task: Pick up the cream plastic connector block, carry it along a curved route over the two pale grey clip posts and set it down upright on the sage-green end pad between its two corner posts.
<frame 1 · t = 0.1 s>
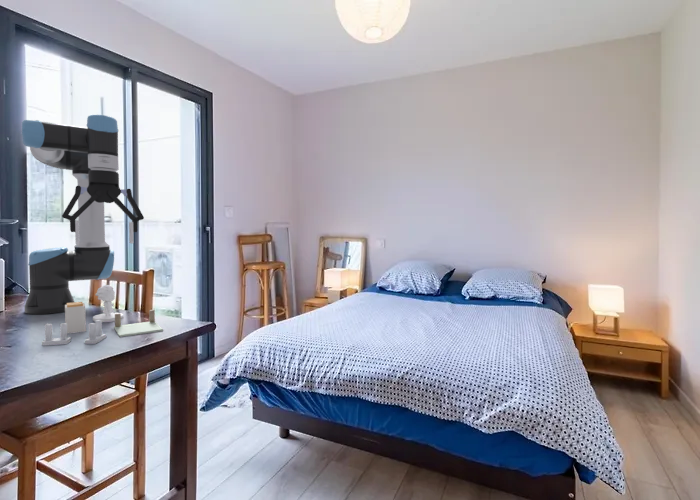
hand: (105, 243, 116), 28 cm above the table, fingers open, 13 cm apart
figurine: (108, 319, 138), on the table
clip b: (95, 340, 113), on the table
holder: (138, 329, 126), on the table
clip a: (56, 343, 110), on the table
connector: (75, 330, 123), on the table
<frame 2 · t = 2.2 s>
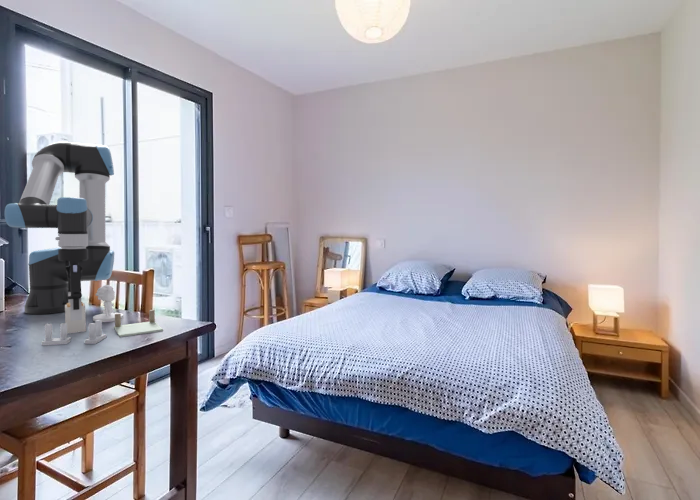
hand: (75, 316, 122), 5 cm above the table, fingers open, 13 cm apart
nothing on the table moved.
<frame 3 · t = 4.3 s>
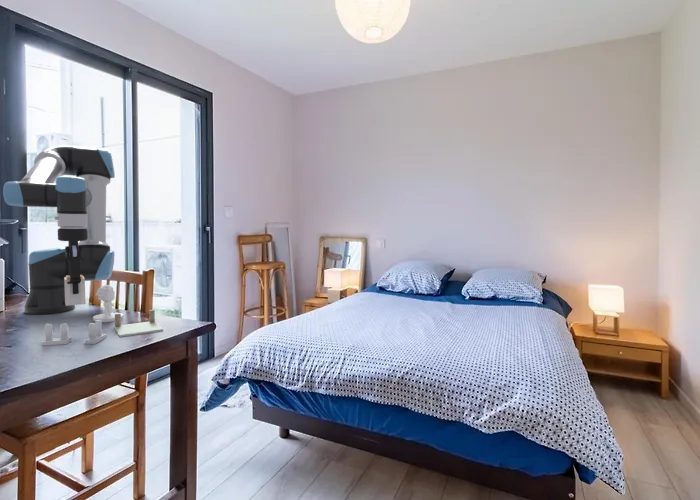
hand: (75, 301, 123), 9 cm above the table, fingers closed on connector, 5 cm apart
connector: (75, 303, 123), point 9 cm above the table, touching gripper
everything else where it was.
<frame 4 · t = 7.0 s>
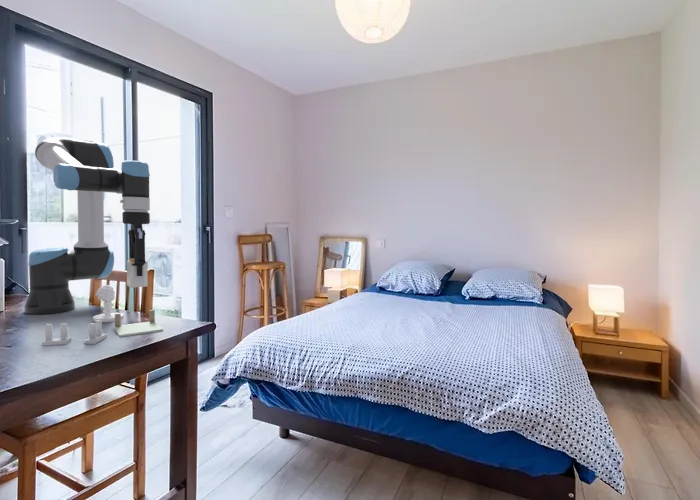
hand: (137, 284, 124), 14 cm above the table, fingers closed on connector, 5 cm apart
connector: (137, 285, 124), point 14 cm above the table, touching gripper
everything else where it was.
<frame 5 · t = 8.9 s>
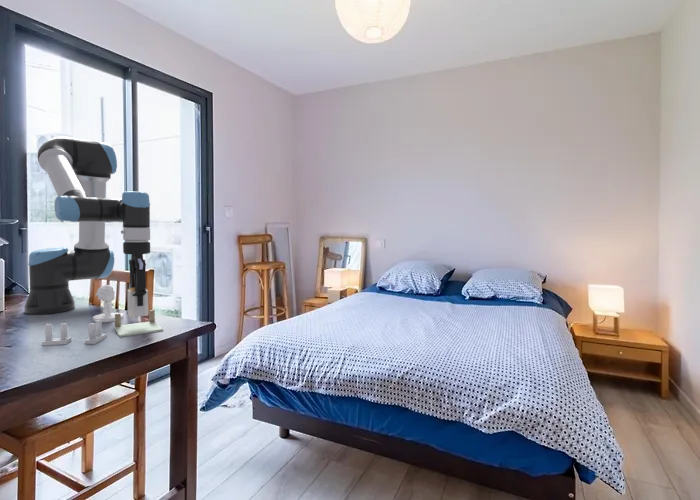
hand: (138, 313, 125), 5 cm above the table, fingers closed on connector, 5 cm apart
connector: (138, 314, 125), point 5 cm above the table, touching gripper
everything else where it was.
when the fingers open (2 cm above the table, at t = 10.1 s): connector stays where it is, resting on holder.
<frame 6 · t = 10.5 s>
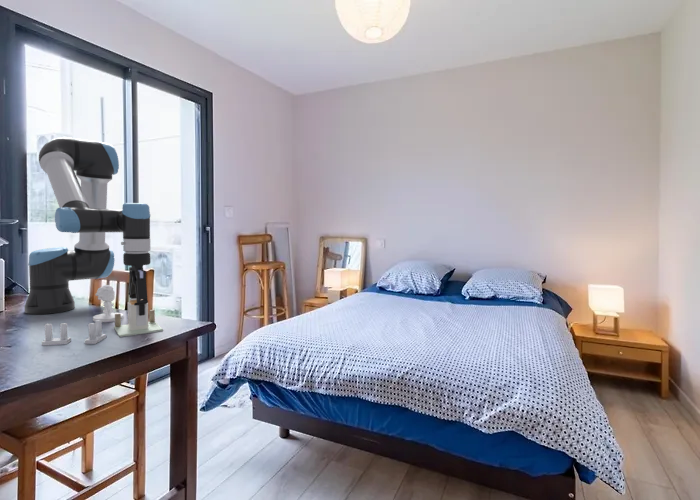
hand: (138, 321, 125), 3 cm above the table, fingers open, 10 cm apart
connector: (138, 327, 125), point 1 cm above the table, touching holder
everything else where it was.
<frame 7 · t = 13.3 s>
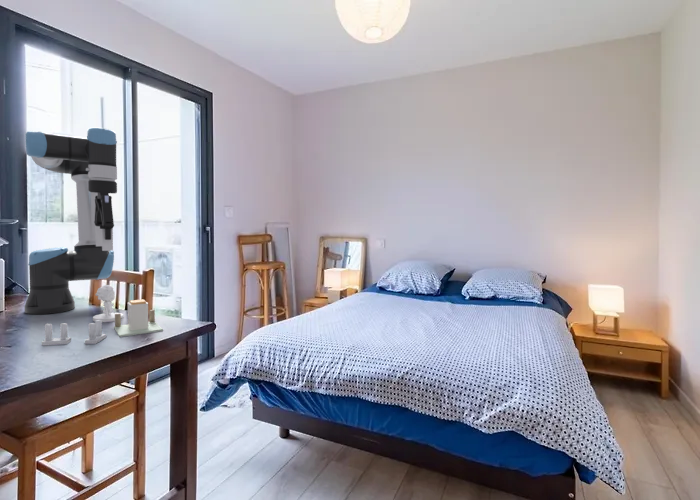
hand: (104, 248, 124), 26 cm above the table, fingers open, 13 cm apart
nothing on the table moved.
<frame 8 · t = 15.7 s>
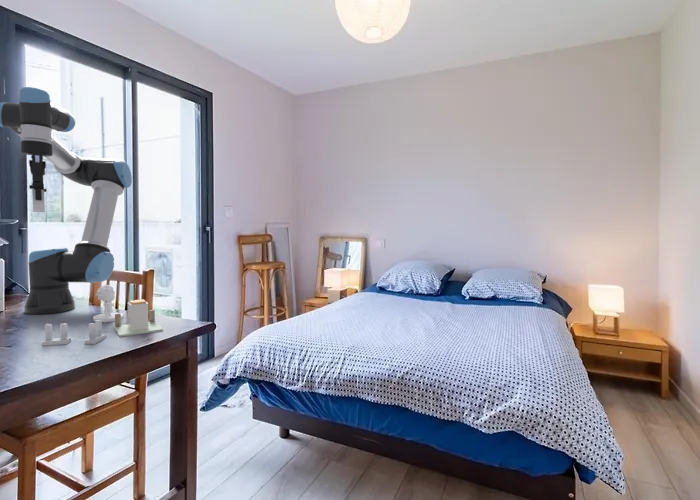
hand: (39, 212, 121), 37 cm above the table, fingers open, 13 cm apart
nothing on the table moved.
at the end: connector inside the target area on the holder (0.0 cm from its centre), point 0.6 cm above the holder's base; connector tilted 0°; the gripper is holding nothing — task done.
